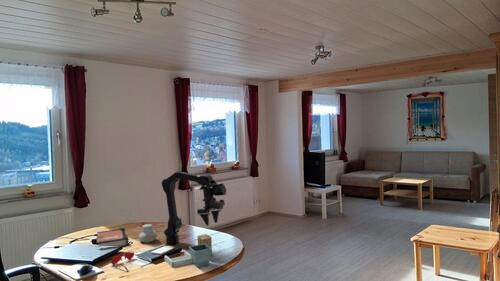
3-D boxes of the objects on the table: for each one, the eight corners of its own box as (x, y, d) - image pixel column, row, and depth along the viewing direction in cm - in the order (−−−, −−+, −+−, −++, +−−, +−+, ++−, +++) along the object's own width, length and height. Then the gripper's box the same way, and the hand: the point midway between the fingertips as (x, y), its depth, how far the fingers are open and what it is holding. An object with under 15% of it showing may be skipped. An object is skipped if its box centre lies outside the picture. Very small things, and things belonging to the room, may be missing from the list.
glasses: (133, 258, 206) (133, 249, 205) (152, 264, 195) (151, 254, 195) (109, 266, 195) (109, 256, 195) (128, 273, 184) (127, 263, 184)
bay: (164, 260, 199) (164, 255, 199) (186, 255, 205) (186, 251, 205) (172, 267, 189) (172, 262, 189) (194, 262, 195) (194, 257, 195)
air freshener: (140, 244, 229) (139, 228, 229) (138, 241, 237) (137, 225, 237) (158, 241, 234) (157, 225, 234) (155, 238, 241) (155, 222, 241)
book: (96, 239, 246) (96, 231, 246) (124, 235, 253) (124, 227, 253) (97, 250, 222) (96, 242, 222) (128, 245, 229) (128, 237, 229)
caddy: (197, 255, 205) (197, 235, 205) (206, 253, 208) (206, 234, 207) (203, 259, 199) (202, 238, 198) (212, 257, 201) (211, 237, 201)
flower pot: (195, 269, 185) (194, 251, 185) (189, 264, 193) (188, 246, 192) (212, 265, 189) (211, 248, 189) (205, 260, 197) (205, 243, 197)
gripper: (212, 197, 206) (215, 226, 205) (228, 193, 223) (232, 220, 222) (195, 199, 211) (198, 227, 210) (212, 195, 228) (215, 221, 227)
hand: (212, 224), depth 217 cm, fingers open, 9 cm apart
